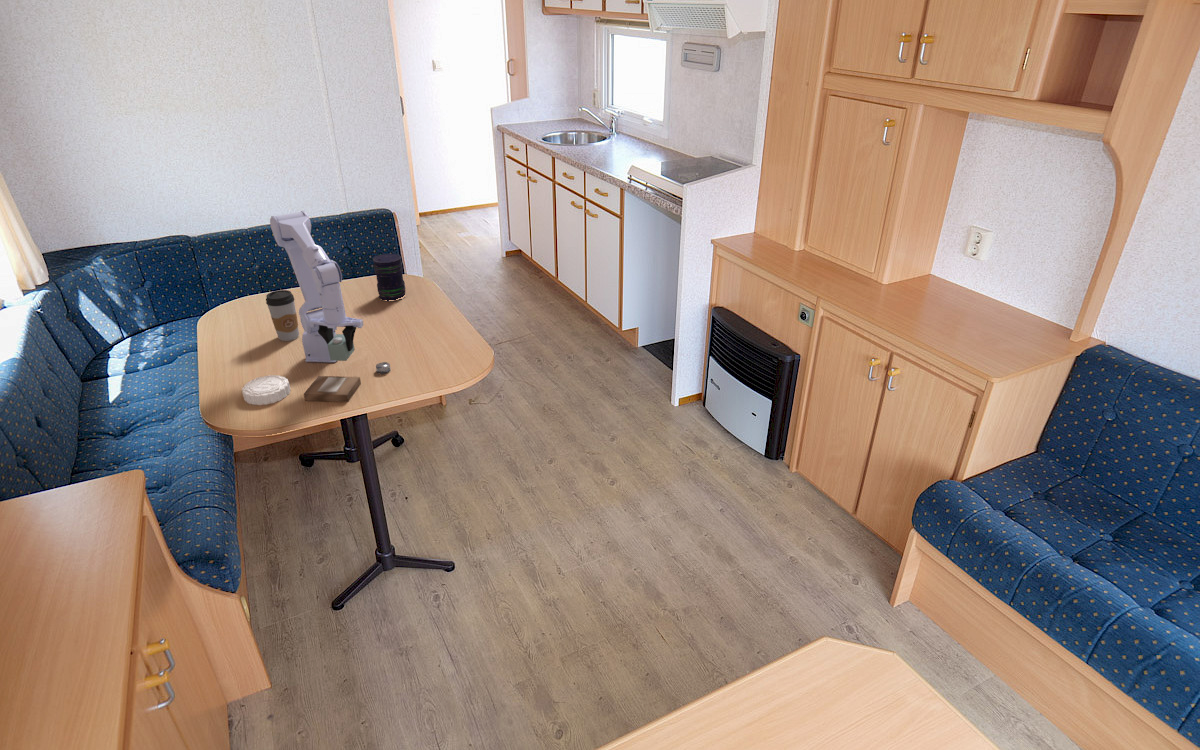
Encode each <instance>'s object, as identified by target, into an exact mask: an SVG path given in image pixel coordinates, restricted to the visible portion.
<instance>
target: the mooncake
mask: <svg viewBox="0 0 1200 750" xmlns="http://www.w3.org/2000/svg"><path fill="white" fill-rule="evenodd" d="M288 379H289V378H286V376H282V375H274V374H269V375H264V376H258V377H256V378H253V379H251V380H250V381H248V382H246V383H245V384H244V385H243V388H242V389H241V391H242V392H241V393H242V396H243V399H244V402H246V404H249V405H252V406H262V405H265V406H267V405H269V404H275V403H277V402H279V401H282V400H283V399H285V398H287V396H288V395H290V392H291V391H292V390H291V386H290V382H289V380H288Z"/></svg>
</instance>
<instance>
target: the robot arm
mask: <svg viewBox="0 0 1200 750" xmlns="http://www.w3.org/2000/svg"><path fill="white" fill-rule="evenodd" d="M269 223H270V229H271V231H272V234H273V238H274V240H275V242H276V244H277V246H278V247H281V248H283V249H285V252H286V253H287V255H288V258H289V261H290V263H291V267H292V269H293V271H294V274H295V277H296V280H297V282H298V285H299V289H300V291H301V294H302V296H303V299H304V302H303V304H302V305H301V306H300V307H299V309H298V314H299V318H300V320H299V321H300V324H301V326H302V329H303V333H302V338H301V339H302V340H301V342H302V347H303V352H304V356H305V360H304V361H305V362H306V363H336V362H337V361H331V360H330V355H329V350H328V346H327V345H328V344H329V342H330V341H331V340H332V339H333V338H334V337H335V335H336V334H337V332H336V330H338V328H340V327H341V328H343V329H342V333H341V334H343V335H344V337H345V340H346V344H347V349H348V351H351V350H352V349H353V343H354V338H355V333H356V330H357V329H362V328H363V326H364V321H363V319H362V318H355V317H350V316H347V314H346V309H345V303H344V300H343V299H344V298H343V293H342V289H341V288H342V287H341V283H342V282H343V274H342V270H341V268H340V266H339V264H338V263H337V262H336V261H334V260H333V259H330V258H329V256H328V254H327V253H326V252H325V250H324V249H323V247H322V246H320V245H318V244H315V241H314V239H313V237H312V235H311V233H312V232H311V230H312V222H311V219H310V217H309V215H308V213H307V212H306V211H305V210H301V211H296V212H291V213H286V214H285V213H284V214H280V215H272V216H271V217H270V219H269ZM337 327H338V328H337Z"/></svg>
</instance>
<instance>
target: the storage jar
mask: <svg viewBox="0 0 1200 750" xmlns="http://www.w3.org/2000/svg"><path fill="white" fill-rule="evenodd" d="M372 261H373V269H374V274H375V276H376V282H377V284H376V287H377V292H378V298H379V300H380V299H382V300H387V301H386V302H389V300H396V299H398V298H401V297H403V296H404V295H405V293H406V285H405V284H406V283H405V280H404V276H403V272H404V271H403V270H404V268H403V262H402V257H401V255H400V254H397V253H382V254H379V255H375V256H373V258H372ZM382 300H381V301H382Z"/></svg>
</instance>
